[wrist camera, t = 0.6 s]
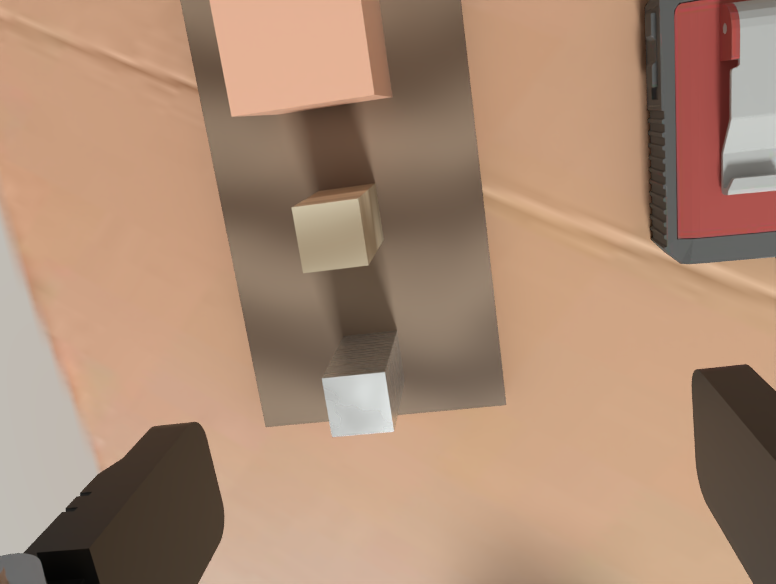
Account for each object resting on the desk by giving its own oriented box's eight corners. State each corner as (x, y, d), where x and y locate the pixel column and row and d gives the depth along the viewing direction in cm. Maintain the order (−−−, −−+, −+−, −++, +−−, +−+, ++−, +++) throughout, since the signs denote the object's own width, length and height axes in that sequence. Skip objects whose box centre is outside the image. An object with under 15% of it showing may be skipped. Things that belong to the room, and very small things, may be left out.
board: (189, -13, 32) (117, -44, 26) (453, -60, 31) (451, -107, 24) (273, 414, 37) (231, 482, 31) (504, 392, 36) (514, 459, 29)
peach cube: (255, -9, 31) (201, -40, 24) (374, -31, 30) (351, -67, 24) (277, 114, 32) (231, 116, 25) (392, 96, 31) (374, 94, 25)
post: (343, 336, 34) (321, 378, 29) (397, 330, 34) (385, 372, 29) (351, 386, 35) (332, 436, 30) (404, 381, 34) (394, 431, 29)
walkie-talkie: (843, 259, 33) (864, -238, 28) (899, 282, 29) (936, -299, 24) (645, 276, 34) (633, -200, 29) (672, 300, 30) (662, -252, 25)
